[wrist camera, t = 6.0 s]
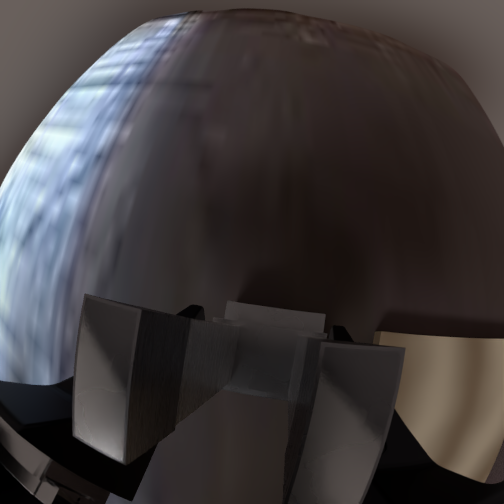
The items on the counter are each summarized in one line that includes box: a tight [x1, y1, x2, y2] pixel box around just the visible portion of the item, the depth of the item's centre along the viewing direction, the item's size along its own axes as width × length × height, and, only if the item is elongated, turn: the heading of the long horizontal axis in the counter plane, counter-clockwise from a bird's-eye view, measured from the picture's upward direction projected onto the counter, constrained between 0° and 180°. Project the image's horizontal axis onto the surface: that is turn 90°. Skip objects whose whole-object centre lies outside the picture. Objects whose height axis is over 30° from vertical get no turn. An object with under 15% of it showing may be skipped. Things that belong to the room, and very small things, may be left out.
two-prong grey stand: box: [72, 294, 406, 504], centre depth 9 cm, size 5×5×13 cm
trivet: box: [373, 331, 504, 483], centre depth 11 cm, size 14×14×1 cm
